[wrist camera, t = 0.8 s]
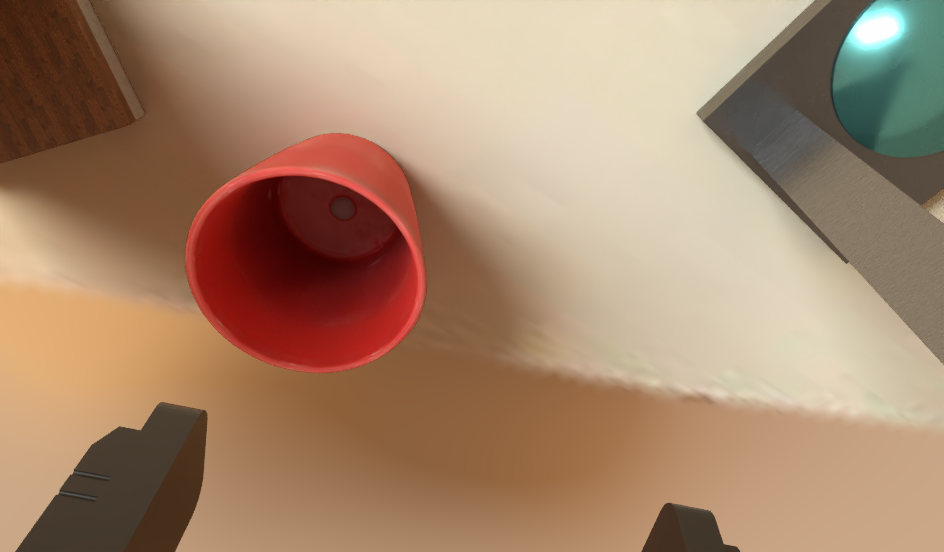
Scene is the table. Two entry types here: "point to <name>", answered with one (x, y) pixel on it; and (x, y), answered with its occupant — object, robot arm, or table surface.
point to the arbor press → (854, 140)
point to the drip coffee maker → (58, 77)
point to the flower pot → (311, 256)
